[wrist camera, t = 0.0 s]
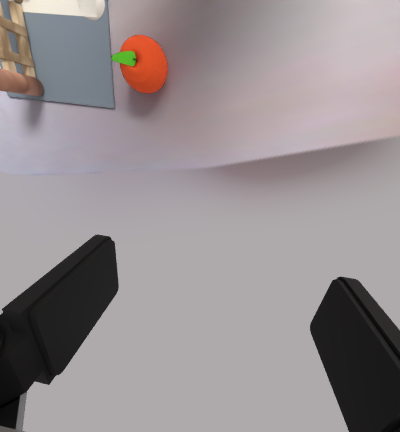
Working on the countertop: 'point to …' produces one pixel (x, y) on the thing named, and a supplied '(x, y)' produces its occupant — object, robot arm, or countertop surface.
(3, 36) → the fence panel
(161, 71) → the clementine
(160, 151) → the countertop surface
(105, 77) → the card
